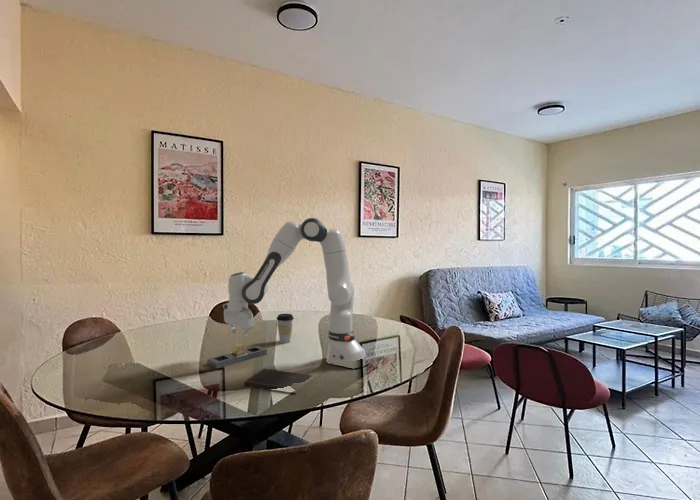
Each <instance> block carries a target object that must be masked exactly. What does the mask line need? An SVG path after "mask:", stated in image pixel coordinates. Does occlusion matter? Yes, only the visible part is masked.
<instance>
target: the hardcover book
mask: <svg viewBox="0 0 700 500" xmlns="http://www.w3.org/2000/svg"><path fill="white" fill-rule="evenodd" d="M312 376H313V374H308V373H307V374H305V373H299V372H292V371H284V370H278V369H277V370H276V369H269V368H263V369H261V370H260V371H258V372H257V373H255V374H254V375H252V376H251V377H248V379H247V380H245V381H244V385H245V386H244V385H243V386H244V387H246V386H252V387H251V388H253V387H255V388H254V389H259V388H264V389H263V390H266V389H277V388H284V387H287V386H291V385H292V384H293V383H301V382H305V381H306V380H308V379H309V378H310V377H311V378H312Z"/></svg>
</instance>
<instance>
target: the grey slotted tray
mask: <svg viewBox="0 0 700 500" xmlns="http://www.w3.org/2000/svg"><path fill="white" fill-rule="evenodd" d="M265 355H268V349H267V348H264V347H262V346H259V345H254V346H251V347H248V348H244V354H243V355H239V356H234V355H232V351H231V352H229V353H225V354H221V355H220V354H219V355H218V356H214V357H213V356H212V357H210V358H207V359H206V361H207V362H206V364H207V365H208V366H210V367H212V368H215V369H220V368H222V367H227V366H230V365H233V364H237V363H240V361H241V362H244V361H248V360H251V359H254V358H258V357H261V356H265ZM243 360H244V361H243Z"/></svg>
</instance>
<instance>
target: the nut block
mask: <svg viewBox="0 0 700 500" xmlns="http://www.w3.org/2000/svg"><path fill="white" fill-rule="evenodd" d="M244 349H245V344H243V343H240V342H239V343H236V344H232V351H231V352H232V355H234V356H239V355H243V354H244Z"/></svg>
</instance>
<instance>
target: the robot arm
mask: <svg viewBox="0 0 700 500" xmlns="http://www.w3.org/2000/svg"><path fill="white" fill-rule="evenodd" d="M302 240H307V241H309V242H318V243H319V244H320V245H321V246H320V247H321V250H322V255H323V260H324V266H325V274H326V287H327V296H328V299H329V301H330V311H329V312H330V313H329V330H328V339H329V340H328V346H327V351H326V352H327V353H326V357H325V363H326V362H329V361H330V360H337V361H356V360H360V359H363V358H364V357H366V358H367V356H366V350H365V348H364V347H362V345H361V344H360V343H359V342H358V341H357V340H356V336H357V333H355V332H354V330H353V312H354V299H355V298H354V297H355V295H354V294H355V288H354V284H353V282H352V281H351V279H350V269H349V266H350V265H349V261H348V256H347V251H346V250H347V249H346V246H345V245H346V244H345V241H344V238H343V235H342V233H341V232H340V230H338V229H335V228H329V229H328V228H326V226H325V225H324V223H323V222H322V221H321V220H320V219H318V218H315V217H309V218H307V219H305V220H304V221H303V222H302V223H301V224H300V223H297V222H295V221H286V222H285V223H284V224H283V225H282V226H281V228H280V229H279V230H278V232H277V233H276V234H275V235H274V237H273V239H272V241H271V243H270V246H269V248H268V251H267V253H266V256H265V259H264V261H263V262H262V265H260V268H259V269H258V271H257V273H256V274H255V275H254V276H251V275H250V274H249V275H248V274H247V273H246V272H244V271H243V272H241V271H240V272H236V273H233V274H231V275H230V276H229V278H228V283H227V284H228V285H227V286H228V287H227V288H228V289H227V290H228V294H229V297H228V302H227V303H225V304H224V303H223V305H222V308H223V320H224V323H225V324H228V325H229V329H230V331H231V334H236V333H237V329H236V327H235V326H237V327H240V328H242V329H243V332H242V333H241V334H242V335H241V336H242V337H244V338H245V337H246V338H247V337H248V332H249V331H250V329H253V328H254V327H255V319H254V314H253V312H252V310H251V309H250V308H249V304H250V305H257V304H258V303H261V302H262V300H263V298H264V297H265V295H266V294H267V293H268V285H267V284H268V283H269V281H270V279H271V277H272V276H273V274H274V272H275V271H276V270H277V269H278V268H279V267H280V266H281V265H282V264H283V263H285V262H286V261H287V260H288V258H289V257H290V256H291V255H292V254H293V252H294V251H295V249H296V248H297V246H298V244H299V243H300V242H301V241H302ZM326 359H327V360H326Z"/></svg>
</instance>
